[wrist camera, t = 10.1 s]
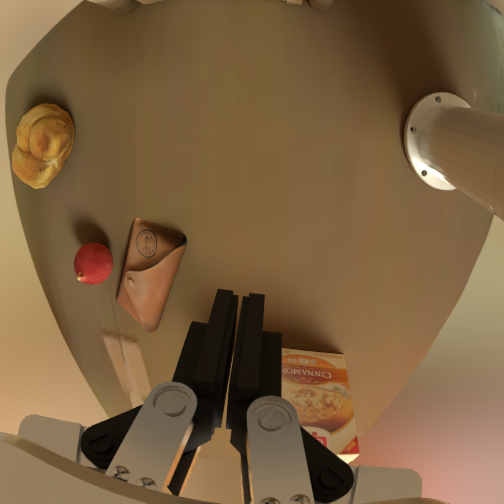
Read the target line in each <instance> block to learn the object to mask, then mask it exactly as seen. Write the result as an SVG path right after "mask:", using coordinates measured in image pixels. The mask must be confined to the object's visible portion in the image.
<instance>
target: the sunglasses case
mask: <svg viewBox="0 0 504 504" xmlns="http://www.w3.org/2000/svg"><path fill="white" fill-rule="evenodd" d="M186 244H187V239H186V237H185V236H183V235H180V234H178V233H175V232H173V231H170V230H168V229H165V228H162V227H160V226H157V225H155V224H152V223H149V222H147V221H143V220H140V219H139V218H135V220H134V223H133V227H132V231H131V236H130V242H129V247H128V252H127V257H126V261H125V266H124V270H123V275H122V280H121V285H120V289H119V293H118V296H117V300H116V303H117V304H119V305H121V306H122V307H123V308H124V309H125V310H126V311H127V312H128V313H130V314H131V315H132V316H133V317H134V318H135V319H136V320H137V321H138V322H139V323H140V324H141V325H142V326H144V328H145V330H146V331H147V332H149V333H150V332H154V331H156V330H157V328H158V326H159V323H160V320H161V317H162V314H163V311H164V308H165V305H166V302H167V299H168V296H169V293H170V290H171V287H172V284H173V281H174V278H175V276H176V273H177V270H178V267H179V265H180V262H181V259H182V256H183V253H184V251H185V247H186Z"/></svg>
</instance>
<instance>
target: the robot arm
mask: <svg viewBox="0 0 504 504" xmlns="http://www.w3.org/2000/svg"><path fill="white" fill-rule="evenodd" d="M435 98H436V99H435ZM410 128H412V130H411V131H410ZM404 146H405V152H406V155H407V159H408V161H409V163H410V166H411V167H412V169H413V170H414V172H415V173H416V175H417V176H418V177H419V178H420V179H421V180H422V181H424V182H425V183H427V184H428V185H430V186H432V187H434V188H436V189H440V190H453V189H458V190H460V191H462V192H463V193H465V194H466V195H468V196H469V197H471V198H472V199H474V200H475V201H477V202H478V203H479V204H481V205H482V206H484V207H485V208H487V209H488V210H489V211H491V212H492V213H493V214H495V215H496V216H497V217H499V218H500V219H501V220H503V221H504V115H503V114H499V113H494V112H489V111H484V110H479V109H473V108H471V106H470V105H469V104H468V103H467V102H466V101H465V100H463V99H462V98H460V97H458V96H457V95H454V94H451V93H445V92H435V93H431V94H428V95H426V96H424V97H423V98H421V99H420V100H419V101H418V102H417V103H416V104H415V105H414V106H413V108H412V109H411V111H410V113H409V115H408V118H407V120H406V124H405V129H404ZM422 170H423V171H422ZM421 172H422V173H421ZM264 298H265V295H263V294H254V293H250V294H249V297H246V296H243V300H242V307H241V313H240V319H239V325H238V332H237V338H236V344H235V350H234V357H233V363H232V369H231V376H230V383H229V392H228V405H227V418H226V429H232V431H231V440H230V443H231V444H232V445H233V446H234V447H235V448H236V449H237V450H238V451H239V461H240V475H241V489H242V503H243V504H449V503H447V502H444V501H441V500H437V499H431V498H421V492H422V480H421V477H420V476H419V474H418V473H417V472H415V471H414V470H411V469H401V468H400V469H399V468H386V467H374V466H365V465H359V466H358V467H357V466H350V465H348V464H347V463H346V462H344V461H343V460H342V459H341V458H339V457H338V456H337V455H335V454H334V453H333V452H332V451H330V450H329V449H328V448H327V447H325V446H324V445H323V444H322V443H321V442H319V441H318V440H317V439H316V438H315V437H313V436H312V435H311V434H310V433H309V432H307V431H306V430H305V429H304V428H303V427H302V426H300V425H299V420H298V415H297V412H296V410H295V408H294V406H293V405H292V404H291V403H290V402H288V401H287V400H285V399H284V398H282V334H281V333H277V332H267V331H262V329H263V314H264ZM237 307H238V295H233V291H231V290H223V289H218V290H217V294H216V297H215V301H214V304H213V308H212V311H211V315H210V318H209V322H208V324H207V323H200V322H194V321H192V323H191V325H190V328H189V331H188V334H187V337H186V339H185V342H184V346H183V349H182V352H181V355H180V358H179V361H178V364H177V367H176V370H175V373H174V376H173V379H172V382H165V383H162V384H159V385H158V386H156V387H155V388H153V390H152V391H151V392H150V393H149V395H148V397H147V399H146V400H145V402H144V404H143V405H140V406H138V407H136V408H134V409H131V410H129V411H127V412H124V413H122V414H120V415H117V416H115V417H112V418H110V419H107V420H105V421H102V422H100V423H98V424H95V425H92V426H91V427H85V426H82V425H81V424H79V423H73V422H68V421H62V420H57V419H53V418H48V417H44V416H39V415H29V416H27V417H25V418H24V419H23V420H22V422H21V424H20V427H19V431H18V436H16V435H13V434H8V433H4V432H0V504H218V503H212V502H205V501H199V500H193V499H189V498H184V497H181V496H182V494H183V491H184V489H185V486H186V484H187V481H188V478H189V476H190V473H191V471H192V469H193V466H194V463H195V461H196V458H197V456H198V453H199V451H200V448H201V445H203V444H204V443H206V442H208V441H210V440H211V436H212V434H214V430H215V427H218V428H221V424H222V418H223V412H224V405H225V399H226V393H227V387H228V381H229V375H230V368H231V362H232V356H233V349H234V339H235V329H236V318H237Z"/></svg>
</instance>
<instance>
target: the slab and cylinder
mask: <svg viewBox="0 0 504 504" xmlns="http://www.w3.org/2000/svg"><path fill="white" fill-rule="evenodd" d="M88 1H91V2H93V3H96V4H99V5H101V6H104V7H106V8H109V9H111V10H114V11H116V12H118V13H121V14H129V13H131V12H133V11H134V10H135V9H136V8H137V7H138V6H139V3H140V2H139V1H137V0H88Z"/></svg>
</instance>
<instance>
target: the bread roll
mask: <svg viewBox="0 0 504 504" xmlns="http://www.w3.org/2000/svg"><path fill="white" fill-rule="evenodd" d="M74 139H75V130H74V125H73V122H72V119H71V118H70V115H69V114H68V113H67V112H66V111H64V110H63V109H61V108H60V107H59V106H57V105H55V104H48V103H46V104H41V105H38V106H36V107H34V108H32V109H31V110H30V111H29V112H28V113H27V114H26V115H24V116H23V118H22V120H21V122H20V123H19V126H18V128H17V143H16V145H15V148H14V150H13V153H12V168H13V170H14V172H15V173H16V174H17V176H18V177H19V178H20V179H21V180H22V181H23V182H25V183H26V184H29V185H30V186H31V187H33V188H36V189H38V188H44V187H46V186H47V185H48V184H49V183H50V182H51V180H52V179H53V178H54V177H55V176H57V174H58V173H59V172H60V171H61V170H62V168H63V166H64V165H65V163H66V161H67V159H68V157H69V155H70V153H71V150H72V147H73V144H74Z"/></svg>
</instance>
